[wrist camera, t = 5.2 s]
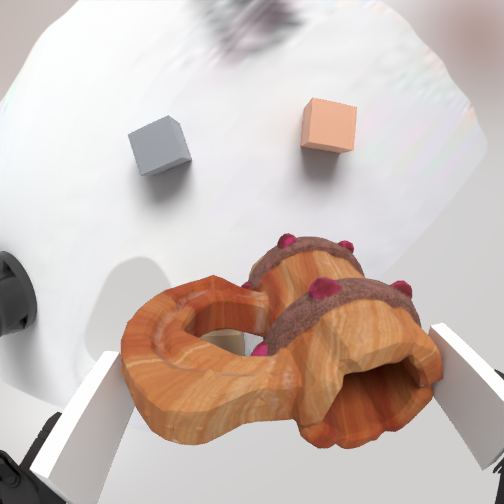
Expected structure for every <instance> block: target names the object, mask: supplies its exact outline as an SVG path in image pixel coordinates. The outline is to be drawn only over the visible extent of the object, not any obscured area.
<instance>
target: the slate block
mask: <svg viewBox="0 0 504 504" xmlns="http://www.w3.org/2000/svg"><path fill="white" fill-rule="evenodd" d="M128 137H129V140H130V144H131V147H132V150H133V153H134V156H135V159H136V162H137V165H138V168H139V171H140V174H141V175H157V174H159V173H162V172H164V171H166V170H169V169H171V168H173V167H176V166H178V165H180V164H183V163H185V162H188V161H190V160H192V158H191V155H190V152H189V149H188V147H187V144H186V141H185V138H184V135H183V132H182V129H181V126H180V123H178V122H177V121H175V120H174V119H173V118H171V117H170V116H166V117H164V118H161V119H159V120H157V121H155V122H153V123H151V124H148V125H146V126H144V127H142V128H140V129H138V130H136V131H134V132H132V133H130V134H128Z"/></svg>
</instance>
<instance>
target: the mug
mask: <svg viewBox="0 0 504 504" xmlns="http://www.w3.org/2000/svg"><path fill="white" fill-rule="evenodd" d="M353 251H354V247H353V244H352V243H350V242H349V241H341V242H339V243H334V242H332V241H329V240H327V239H324V238H319V237H298V238H296V237H295V236H294V235H291V234H284V235H283V236H281V237H280V239H279V241H278V244H277V246H275V247H274V248H272V249H271V250H269V251H268V252H267V253H266V254H265V255H264V256H263V257H261V258H260V259H259V260H258V261H257V262H256V263H255V264H254V265H253V267H252V269H251V271H250V274H249V280H248V282H246V283H244V284H243V285H242V286H241V287H239V286H237V285H235V284H233V283H231V282H229V281H227V280H225V279H223V278H220V277H217V276H214V275H212V276H209V277H206V278H204V279H201V280H197V281H193V282H189V283H186V284H183V285H180V286H177V287H174V288H171V289H168V290H165V291H163V292H162V293H160V294H158V295H156V296H155V297H154V298H152V299H151V300H150V301H148V302H147V303H146V304H144V305H143V306H142V307H141V308H140V309H139V310H138V311H137V312H136V313H135V315H134V316H133V318H132V319H131V320H129V321H128V323H127V326H126V329H125V331H124V334H123V336H122V339H121V362H122V370H121V373H122V374H123V376H124V377H125V383H126V385H127V387H128V389H129V392H130V394H131V397H132V399H133V401H134V404H135V406H136V408H137V410H138V411H139V413H140V414H141V416H142V417H143V419H144V420H145V422H146V423H147V425H148V426H149V428H150V429H151V431H153V432H154V433H156V434H158V435H159V436H161V437H162V438H164V439H165V440H168V441H171V442H175V443H179V444H184V445H199V444H205V443H208V442H209V441H212V440H214V439H216V438H218V437H220V436H221V435H224V434H226V433H227V432H229V431H231V430H233V429H235V428H237V427H239V426H241V425H242V424H246V423H252V422H257V421H276V420H277V421H278V420H289V419H294V420H295V421H296V422H297V425H298V428H299V432H300V435H301V436H302V437H303V438H304V439H305V440H306V441H307V442H309V443H311V444H312V445H314V446H315V447H317V448H329V447H331V446H333V445H334V444H337V445H338V446H340V447H341V448H344V449H351V448H356V447H360V446H362V445H364V444H365V443H367V442H369V441H373V440H377V439H378V437H379V436H380V435H381V434H382V433H383V432H385V431H391V432H392V431H393V432H396V431H398V430H399V429H401V428H403V427H404V426H405V425H406V424H408V423H409V422H410V421H411V420H412V419H413V418H414V417H415V416H416V415H417V414H418V413H419V412H420V411H421V410H422V409H423V408H424V407H425V406H426V405H427V404H428V403H429V402H430V401H431V400H432V397H433V393H434V392H433V390H432V388H431V385H432V384H433V383H435V382H438V381H440V380H442V379H443V370H442V357H441V354H440V351H439V349H438V347H437V346H436V345H435V343H434V342H433V341H432V339H431V338H430V337H429V336H428V335H427V334H426V333H425V332H424V331H423V330H422V328H421V323H420V319H419V315H418V313H417V312H416V309H415V307H414V305H413V303H412V301H411V298H412V289H411V286H410V285H409V284H407V283H406V282H405V281H397V282H395V283H393V284H391V285H387V284H385V283H383V282H380V281H377V280H372V279H366V278H365V276H364V273H363V270H362V268H361V265H360V264H359V262H358V261H357V259H356V258H355V257H354V255H353V254H352V253H353ZM225 329H234V330H237V331H241V332H247V333H250V334H254V335H257V336H261V337H263V339H264V341H263V342H261V343H260V344H258V345H257V346H256V348H255V349H254V351H253V352H252V354H251V356H241V355H237V354H233V353H231V352H229V351H226V350H224V349H222V348H220V347H218V346H216V345H214V344H212V343H210V342H208V341H205V340H203V339H200V337H202V336H203V335H205V334H207V333H209V332H212V331H219V330H225Z"/></svg>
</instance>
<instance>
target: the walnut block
mask: <svg viewBox="0 0 504 504" xmlns="http://www.w3.org/2000/svg"><path fill="white" fill-rule="evenodd" d="M200 339H203V340H205V341H208V342H210V343H212V344H214V345H216V346H218V347H220V348H222V349H224V350H226V351H229V352H231V353H233V354H237V355H241V356H244V350H245V344H244V335H243V332H241V331H237V330H234V329H225V330H219V331H212V332H209V333H207V334H205V335H203V336H202V337H200Z"/></svg>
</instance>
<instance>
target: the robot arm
mask: <svg viewBox="0 0 504 504" xmlns="http://www.w3.org/2000/svg"><path fill="white" fill-rule="evenodd" d="M35 317H36V298H35V294H34V290H33V287H32V284H31V282H30V279H29V277H28V275H27V273H26V271H25V270H24V268H23V266H22V265H21V264H20V262H19V261H18V260H17V259H16V258H15V257H14V256H13V255H11V254H10V253H8V252H5V251H1V252H0V337H1V336H3V335H6V334H10V333H14V332H18V331H22V330H24V329H26V328H27V327H28V326H29V325H31V324H32V323H33V321H34V319H35ZM428 336H429V337H430V338H431V339H432V341H433V342H434V343H435V345H436V346H437V347H438V349H439V351H440V354H441V357H442V370H443V379H442V380H440V381H438V382H435V383H433V384H432V385H431V388H432V390H433V392H434V393H433V396H434V398H435V399H436V401H437V402H438V403H439V405H440V406H441V408H442V409H443V410H444V412H445V413H446V414H447V416H448V418H449V419H450V421H451V422H452V423H453V425H454V426H455V428H456V429H457V431H458V432H459V434H460V435H461V437H462V438H463V440H464V441H465V443H466V445H467V446H468V448H469V449H470V451H471V452H472V454H473V456H474V457H475V459H476V460H477V462H478V464H479V465H480V467H481V469H482V470H484V469H486V468H487V467H489V466H490V465H491V464H493V463H494V462H496V461H497V459H498V458H499V457H500V456H501V455H502V454H503V452H504V374H503V373H501V372H499V371H497V370H493V369H492V368H491V367H490V366H489V365H488V364H487V363H486V362H485V361H484V360H483V359H482V358H481V357H479V356H478V354H476V353H475V352H474V351H473V350H472V349H471V348H470V347H469V346H468V345H467V344H466V343H465V342H464V341H463V340H461V339H460V338H459V337H458V336H457V335H456V334H455V333H454V332H453V331H452V330H450V329H449V328H448V327H447V326H446V325H445V324H444V323H440V324H436V325H432V326H430V330H429V334H428ZM121 370H122V362H121V354H120V352H110V351H105V352H104V353H103V354H102V356H101V357H100V358H99V360H98V361H97V363H96V364H95V366H94V367H93V368H92V370H91V371H90V373H89V374H88V376H87V377H86V379H85V380H84V381H83V383H82V384H81V386H80V387H79V389H78V390H77V392H76V393H75V395H74V396H73V398H72V399H71V401H70V403H69V404H68V406H67V407H66V409H65V410H64V412H63V413H60V412H57V413H55V414H54V415H53V416H52V417H50V418H49V419H48V420H47V422H46V423H45V425H44V426H43V428H42V431H40V433H39V434H38V438H36V439H35V441H34V442H33V444H32V446H31V447H30V449H29V451H28V452H27V454H26V456H25V457H24V459H23V461H22V463H21V464H20V465H19V466H18V465H17V464H16V463H15V462H14V460H13V459H12V458H11V457H10V456H9V455H8V454H7V453H6V452H4V451H2V450H0V504H66V503H68V504H97V503H98V500H99V497H100V494H101V491H102V489H103V486H104V483H105V480H106V478H107V475H108V472H109V470H110V467H111V464H112V461H113V459H114V457H115V454H116V451H117V449H118V446H119V443H120V441H121V438H122V436H123V434H124V431H125V429H126V426H127V424H128V422H129V419H130V417H131V414H132V412H133V410H134V407H135V404H134V401H133V399H132V397H131V394H130V392H129V389H128V387H127V385H126V383H125V377H124V376H123V374H122V373H121ZM501 466H502V468H501V469H500V470H499V471H498V473H501V475H500V481H499V486H498V491H497V496H496V501H495V504H504V458H503V459H502V460H501V461H500V462H499V463H498V465H497V466H496V467H495V468H494V470H493V473H495V472H496V471H497V470H498V469H499V468H500V467H501Z"/></svg>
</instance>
